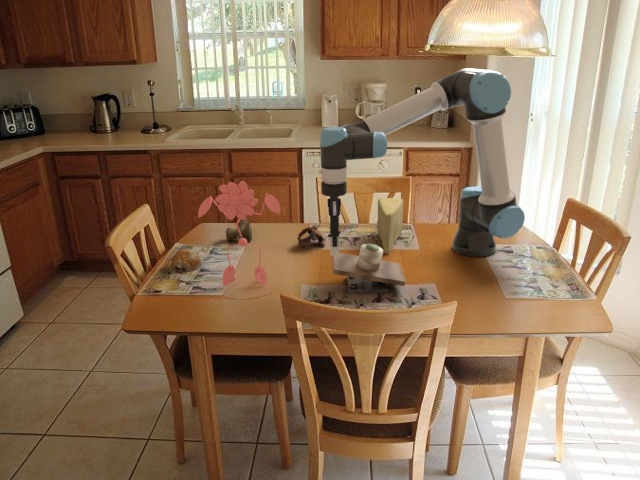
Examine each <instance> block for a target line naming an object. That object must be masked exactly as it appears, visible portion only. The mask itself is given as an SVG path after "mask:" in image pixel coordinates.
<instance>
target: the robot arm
mask: <svg viewBox="0 0 640 480" xmlns="http://www.w3.org/2000/svg"><path fill="white" fill-rule="evenodd" d="M511 95H512V88H511V84H510V81H509V80H508V78H507V77H506V76H505V75H504V74H503V73H501V72H498V71H495V70H493V69H487V68H486V69H480V68H473V67H471V68H470V67H469V68H468V67H466V68H462V69H460V70H457V71H454V72H453V73H450V74H448V75H446V76H443V77H442V78H439V79H437V80H435V81H434V82H432V83H431V86H430V87H429V88H426V89H425V90H422V91H421V92H417V93H416V94H414V95H412V96H410V97H408V98H406V99H404V100H401V101H399V102H397V103H395V104H393V105H391V106H389V107H387V108H385V109H383V110H381V111H379V112H377V113H374V114H372V115H370V116H368V117H366V118H364V119H362V120H360V121H358V122H356V123H345V124H344V125H342V126H328V127H324V128H323V129H321V130H320V135H319V136H320V142H319V146H320V147H319V148H320V168H321V169H320V170H318V173H319V174H320V177H321V178H320V179H321V183H320V185H321V186H320V188H321V191H320V192H321V194H322V196H324V197H329V198H327V200H326V201H327V208H328V216H329V225H330V226H329V234H327V237H329V246H330V247H329V248H330V250H329V251H330V252H329V254H330V257H332V256H339V253H340V234H342V233H341V232H342V231H341V230H340V216H341V207H342V201H341V199H342V198H339V197H342V196H345V195H346V194H347V193H348V190H347V186H348V185H347V184H348V183H347V181H346V180H347V179H348V177H347V175H348V172H347V171H348V170H347V169H348V166H347V163H348V161H353V160H367V159H378V158H382V157H385V156H386V154H387V151H388V141H387V140H388V139H387V136H388V135H389V134H392V133H394V132H396V131H398V130H400V129H402V128H404V127H407V126H409V125H411V124H413V123H415V122H416V121H419V120H421V119H423V118H425V117H427V116H430V115H432V114H433V113H436V112H438V111H444V112H445V111H447V110H449V109H452V108H457V107H464V111H465V118H466V121H468V122H469V123H471V124H472V133H473V139H474V144H475V145H474V146H475V152H476V154H475V155H476V159H477V167H478V174H479V181H480V185H477V186H468V187H465V188H463V189H462V190H461V192H460V193H461V194H460V197H459V198H460V203H459V216H458V217H459V218H458V229H457V231H456V233H455V235H454V238H453V240H452V243H451V245H452V247H451V248H452V250H453V251H454V252H456V253H458V255H459V254H460V255H462V256H468V257H477V258H478V257H489V256H491V255H493V254H495V253H496V249H497V248H496V247H497V246H496V245H497V244H496V239H495V237H496V238H499V239H508V238H511V237H513V236H515V235H516V234H517V233H519V231H520V230H521V229H522V228H523V226H524V223H525V218H526V217H525V213H524V211H523V209H522V208H521V207H520V206H518V205H517V198H516V193H515V191H513V190H511V188H510V182H509V181H510V180H509V173H508V165H507V156H506V148H505V138H504V130H503V122H502V118H503V116H504V115H505V114H506V112H507V109H506V107H507V106H508V103H509V101H510V99H511Z"/></svg>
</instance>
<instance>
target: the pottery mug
mask: <svg viewBox="0 0 640 480" xmlns="http://www.w3.org/2000/svg"><path fill="white" fill-rule="evenodd" d="M305 234H308V235H307V236H306V237H304V238H302V237H303V236H304V235H305ZM296 240H297V243H298V245H297V246H299V247H301V246H302V247H304V246H306V245H310V246H311V245H312V241H317V240H318V244H321V245H322V248H326V243H325V239H324V237H323V234H321V232H320V231H319V230H318V228H317V227H316V226H310V227H309V226H308V227H305V228H304V229H302V230H301V231H299V233H298V235H297V238H296Z"/></svg>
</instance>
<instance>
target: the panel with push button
mask: <svg viewBox="0 0 640 480" xmlns="http://www.w3.org/2000/svg"><path fill="white" fill-rule="evenodd" d="M383 254H384V250H383V247H380V246H379V245H377V244H374V243H364V244H361V245H360V249H359V254H358V255H355V254H349V253H345V252H344V253H342V252H339V256H331V259H332V261H331V262H332V263H331V264H332V274H333V275H338V276H343V277H347V276H348V277H354V278H360V279H366V280H372V281H377V282H383V283H387V284H388V285H396V286H401V287H405V285H406V279H405V276H404V272H403V270H402V267H401V263H399V262H395V261H389V260H384V259H383V260H382V258H383Z"/></svg>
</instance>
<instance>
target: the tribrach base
mask: <svg viewBox="0 0 640 480" xmlns="http://www.w3.org/2000/svg"><path fill="white" fill-rule="evenodd" d="M346 280H347V289H348V290H349V291H348V294H349V293H366V294H389V287H388V283H383V282H377V281H372V280H366V279H360V278H354V277H348V276H346Z"/></svg>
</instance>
